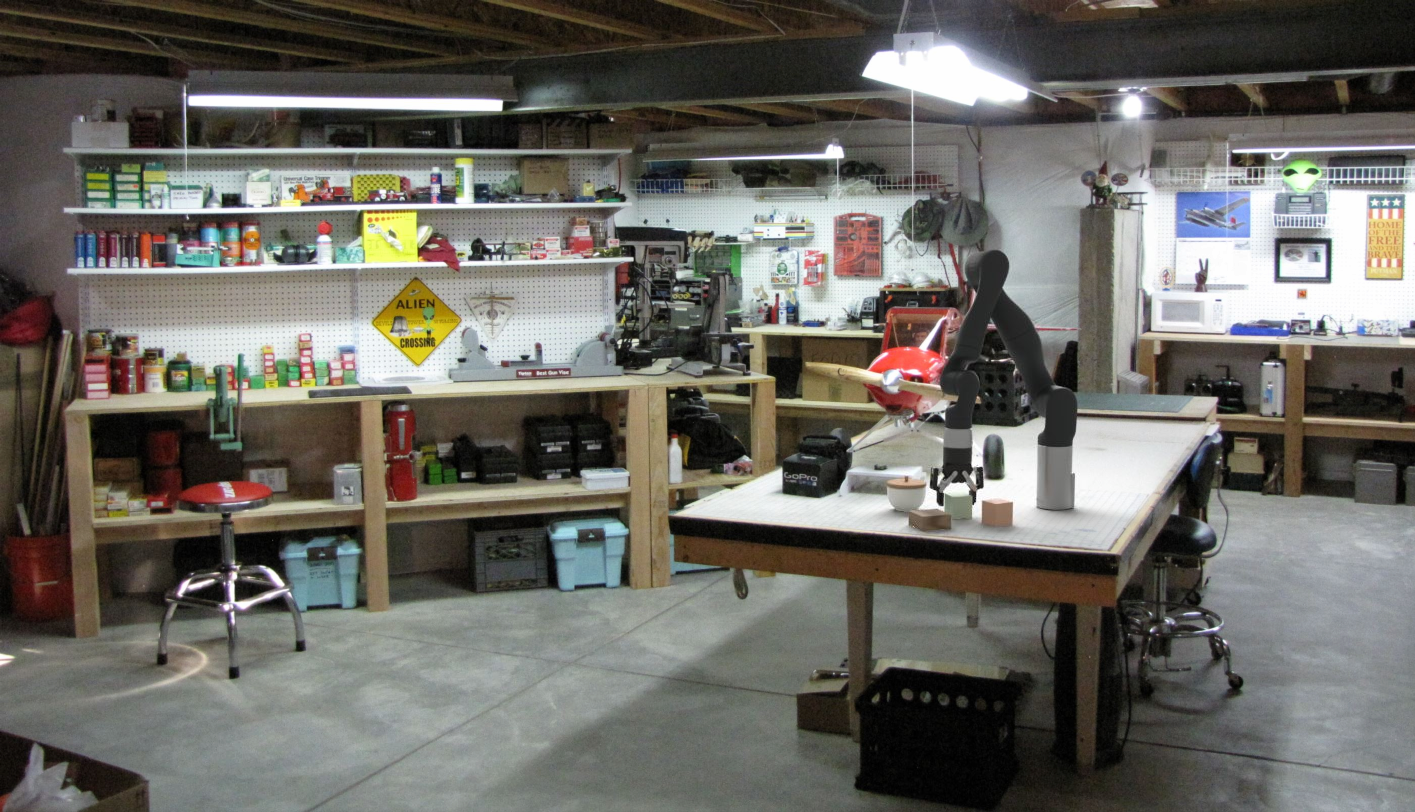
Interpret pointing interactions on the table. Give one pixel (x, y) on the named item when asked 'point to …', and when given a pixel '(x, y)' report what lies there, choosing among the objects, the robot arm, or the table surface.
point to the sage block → (958, 505)
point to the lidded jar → (906, 493)
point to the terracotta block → (997, 512)
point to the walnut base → (930, 519)
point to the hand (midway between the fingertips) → (956, 505)
